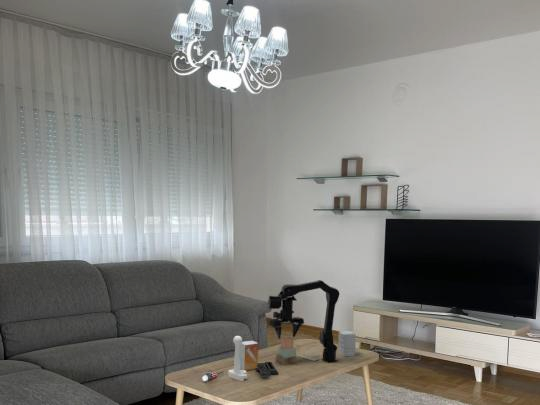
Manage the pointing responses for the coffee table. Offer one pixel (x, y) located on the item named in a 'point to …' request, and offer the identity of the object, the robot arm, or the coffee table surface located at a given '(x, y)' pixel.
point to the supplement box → (346, 343)
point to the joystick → (237, 362)
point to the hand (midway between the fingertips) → (286, 337)
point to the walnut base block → (286, 360)
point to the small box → (248, 355)
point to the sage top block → (286, 352)
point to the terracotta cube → (287, 343)
